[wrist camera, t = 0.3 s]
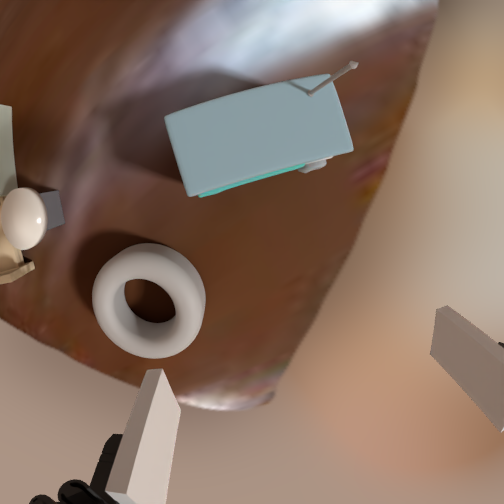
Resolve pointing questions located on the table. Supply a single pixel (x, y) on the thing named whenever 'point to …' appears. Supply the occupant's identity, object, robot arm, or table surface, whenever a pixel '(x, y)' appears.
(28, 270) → the wooden drawer
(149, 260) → the donut shape
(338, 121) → the radio
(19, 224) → the white smooth rounded piece
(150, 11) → the table surface
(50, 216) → the block
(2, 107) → the drawer cabinet
